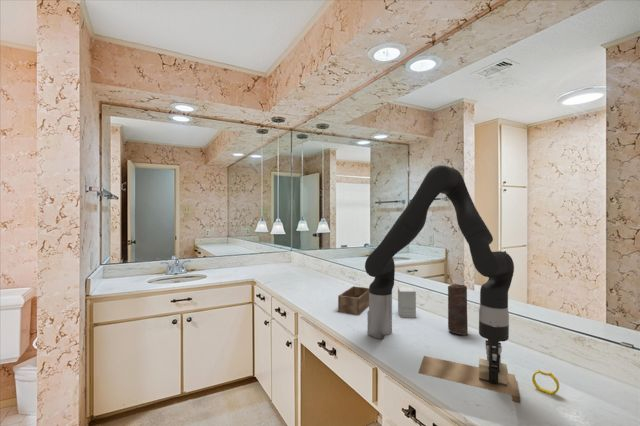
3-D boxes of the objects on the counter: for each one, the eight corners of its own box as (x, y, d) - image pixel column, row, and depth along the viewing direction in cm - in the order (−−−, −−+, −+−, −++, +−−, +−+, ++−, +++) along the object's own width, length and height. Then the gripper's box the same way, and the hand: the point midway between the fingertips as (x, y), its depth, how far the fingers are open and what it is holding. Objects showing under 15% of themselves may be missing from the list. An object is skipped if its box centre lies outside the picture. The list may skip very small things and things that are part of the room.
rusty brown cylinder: (455, 337, 120) (456, 287, 120) (443, 330, 128) (443, 283, 127) (471, 335, 123) (471, 286, 122) (458, 328, 130) (459, 282, 129)
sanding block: (478, 379, 88) (479, 364, 88) (478, 372, 91) (479, 358, 91) (507, 386, 85) (507, 370, 84) (505, 379, 88) (506, 364, 88)
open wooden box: (338, 311, 151) (338, 295, 151) (353, 300, 170) (353, 286, 170) (359, 315, 146) (359, 298, 146) (372, 303, 165) (372, 288, 165)
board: (418, 377, 92) (418, 372, 92) (423, 360, 102) (423, 355, 102) (520, 402, 80) (520, 396, 80) (514, 379, 91) (514, 374, 91)
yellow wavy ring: (532, 390, 86) (530, 368, 86) (534, 386, 88) (533, 365, 88) (558, 398, 81) (556, 375, 82) (560, 394, 83) (558, 372, 84)
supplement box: (412, 312, 150) (412, 287, 149) (416, 318, 142) (416, 291, 142) (397, 312, 150) (397, 287, 150) (400, 317, 143) (400, 291, 143)
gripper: (478, 311, 96) (478, 364, 96) (479, 326, 83) (478, 388, 83) (506, 315, 92) (505, 370, 92) (511, 331, 80) (510, 396, 80)
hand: (493, 378), depth 88 cm, fingers closed on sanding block, 4 cm apart
